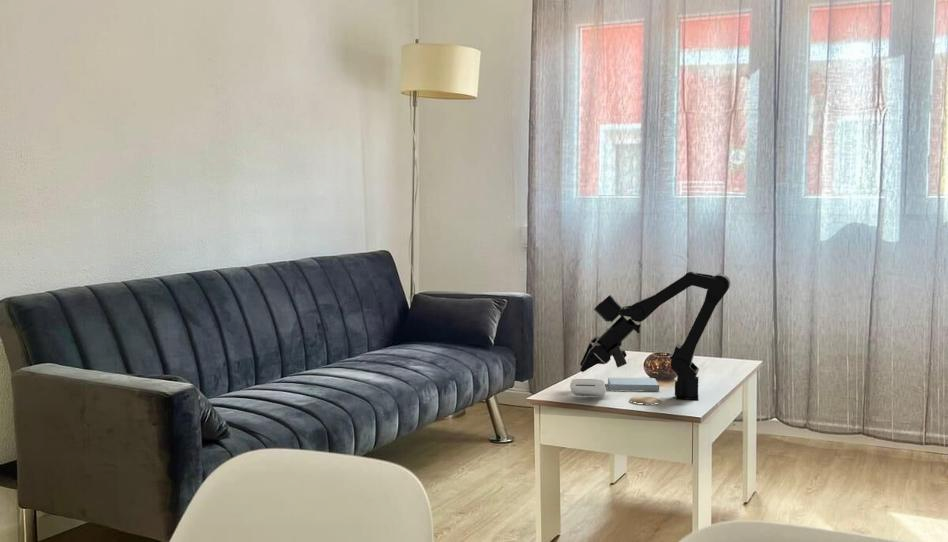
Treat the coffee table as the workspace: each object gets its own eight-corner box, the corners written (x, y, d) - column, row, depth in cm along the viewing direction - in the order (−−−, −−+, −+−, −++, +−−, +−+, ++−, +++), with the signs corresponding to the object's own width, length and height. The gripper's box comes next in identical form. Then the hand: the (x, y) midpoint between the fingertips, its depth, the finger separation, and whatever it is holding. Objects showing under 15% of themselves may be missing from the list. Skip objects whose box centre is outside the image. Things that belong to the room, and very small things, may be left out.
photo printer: (606, 383, 279) (604, 378, 268) (606, 397, 278) (604, 393, 267) (572, 382, 281) (569, 377, 270) (572, 396, 280) (568, 392, 269)
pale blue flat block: (654, 384, 298) (654, 378, 298) (659, 391, 287) (659, 385, 287) (607, 383, 299) (608, 377, 299) (610, 390, 288) (610, 384, 288)
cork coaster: (661, 399, 276) (661, 397, 276) (660, 405, 267) (660, 403, 267) (631, 397, 278) (631, 395, 278) (628, 404, 269) (628, 402, 269)
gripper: (637, 357, 274) (600, 393, 276) (634, 346, 292) (598, 380, 295) (611, 330, 274) (574, 366, 276) (608, 322, 293) (574, 356, 295)
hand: (581, 368), depth 285 cm, fingers open, 9 cm apart
